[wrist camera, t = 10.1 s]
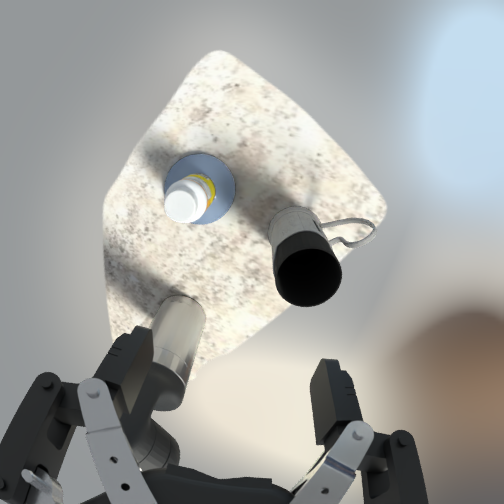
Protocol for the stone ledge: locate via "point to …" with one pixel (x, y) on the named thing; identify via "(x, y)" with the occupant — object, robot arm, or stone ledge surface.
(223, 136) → the stone ledge surface
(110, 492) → the robot arm
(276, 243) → the tall grey black mug
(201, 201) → the supplement bottle
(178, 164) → the coaster
